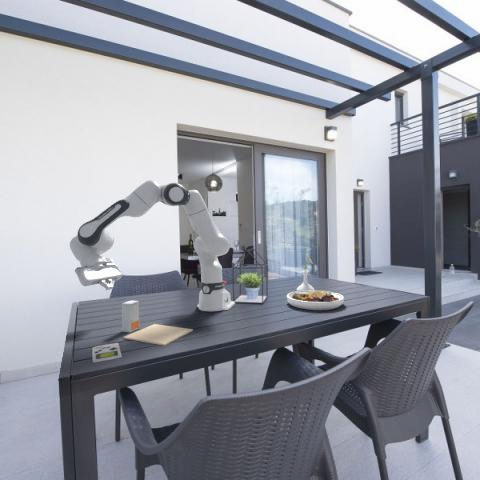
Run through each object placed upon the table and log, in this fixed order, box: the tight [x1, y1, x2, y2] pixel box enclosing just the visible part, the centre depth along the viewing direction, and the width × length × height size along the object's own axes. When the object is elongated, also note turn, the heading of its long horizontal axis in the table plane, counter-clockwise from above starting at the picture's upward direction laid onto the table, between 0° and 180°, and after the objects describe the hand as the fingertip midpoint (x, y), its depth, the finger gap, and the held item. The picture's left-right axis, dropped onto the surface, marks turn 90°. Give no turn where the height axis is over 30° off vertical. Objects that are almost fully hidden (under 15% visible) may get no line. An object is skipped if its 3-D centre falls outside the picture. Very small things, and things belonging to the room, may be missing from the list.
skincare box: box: [121, 300, 140, 333], centre depth 133 cm, size 6×4×12 cm
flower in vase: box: [296, 253, 315, 291], centre depth 203 cm, size 13×11×25 cm
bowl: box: [286, 290, 345, 311], centre depth 171 cm, size 30×30×8 cm
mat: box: [123, 323, 194, 347], centre depth 126 cm, size 18×20×1 cm
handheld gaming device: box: [92, 342, 123, 364], centre depth 109 cm, size 9×1×15 cm
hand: (110, 288), depth 137 cm, fingers closed
